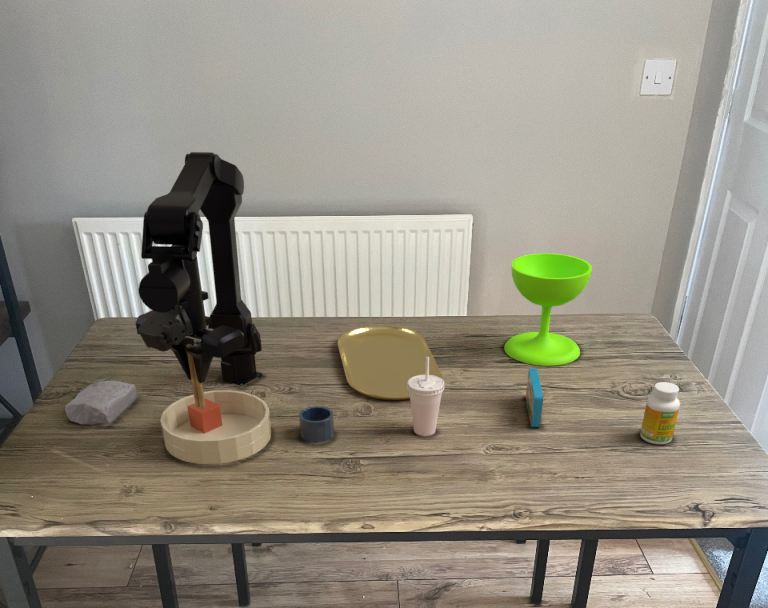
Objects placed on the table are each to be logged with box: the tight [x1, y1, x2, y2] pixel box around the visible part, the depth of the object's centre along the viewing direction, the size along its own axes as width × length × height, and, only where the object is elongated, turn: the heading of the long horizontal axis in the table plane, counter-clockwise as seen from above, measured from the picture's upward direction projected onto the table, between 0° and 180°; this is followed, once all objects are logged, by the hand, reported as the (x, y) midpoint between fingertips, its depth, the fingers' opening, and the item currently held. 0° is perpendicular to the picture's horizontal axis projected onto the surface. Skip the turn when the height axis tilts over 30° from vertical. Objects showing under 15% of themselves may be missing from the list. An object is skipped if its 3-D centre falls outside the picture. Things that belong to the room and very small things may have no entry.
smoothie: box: [407, 357, 445, 437], centre depth 138 cm, size 6×6×14 cm
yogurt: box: [525, 368, 544, 428], centre depth 146 cm, size 12×2×6 cm, turn 176°
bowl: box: [159, 389, 272, 465], centre depth 138 cm, size 18×18×5 cm
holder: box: [298, 405, 335, 444], centre depth 139 cm, size 6×6×4 cm
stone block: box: [64, 380, 138, 426], centre depth 148 cm, size 12×5×10 cm
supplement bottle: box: [639, 381, 681, 445], centre depth 137 cm, size 5×5×10 cm
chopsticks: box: [185, 344, 206, 409], centre depth 132 cm, size 1×2×11 cm, turn 57°
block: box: [188, 399, 222, 434], centre depth 141 cm, size 4×4×4 cm
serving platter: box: [337, 324, 442, 401], centre depth 164 cm, size 19×35×2 cm, turn 9°
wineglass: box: [503, 252, 593, 367], centre depth 165 cm, size 16×16×18 cm
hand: (196, 380), depth 133 cm, fingers closed on chopsticks
